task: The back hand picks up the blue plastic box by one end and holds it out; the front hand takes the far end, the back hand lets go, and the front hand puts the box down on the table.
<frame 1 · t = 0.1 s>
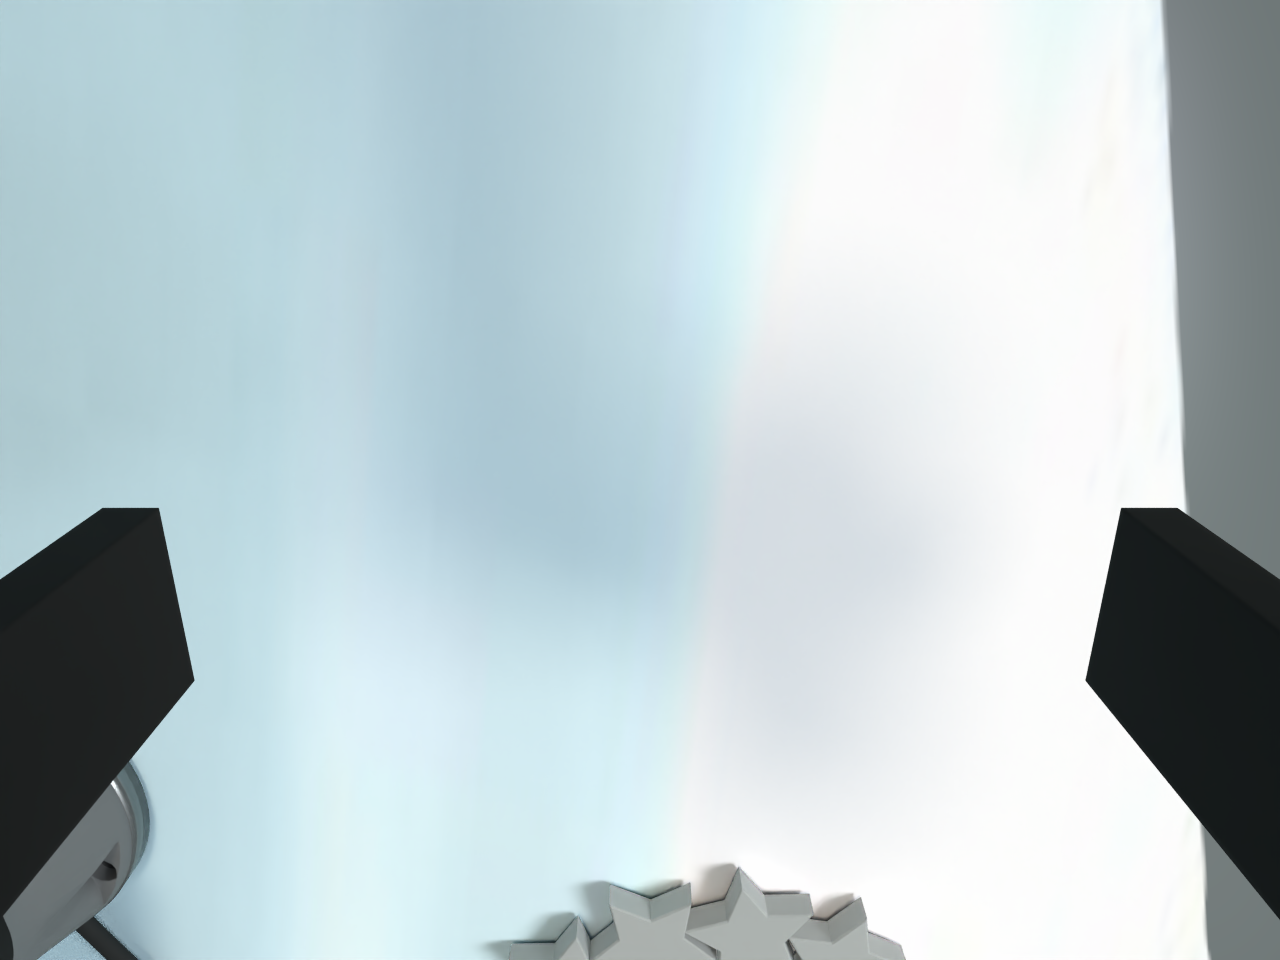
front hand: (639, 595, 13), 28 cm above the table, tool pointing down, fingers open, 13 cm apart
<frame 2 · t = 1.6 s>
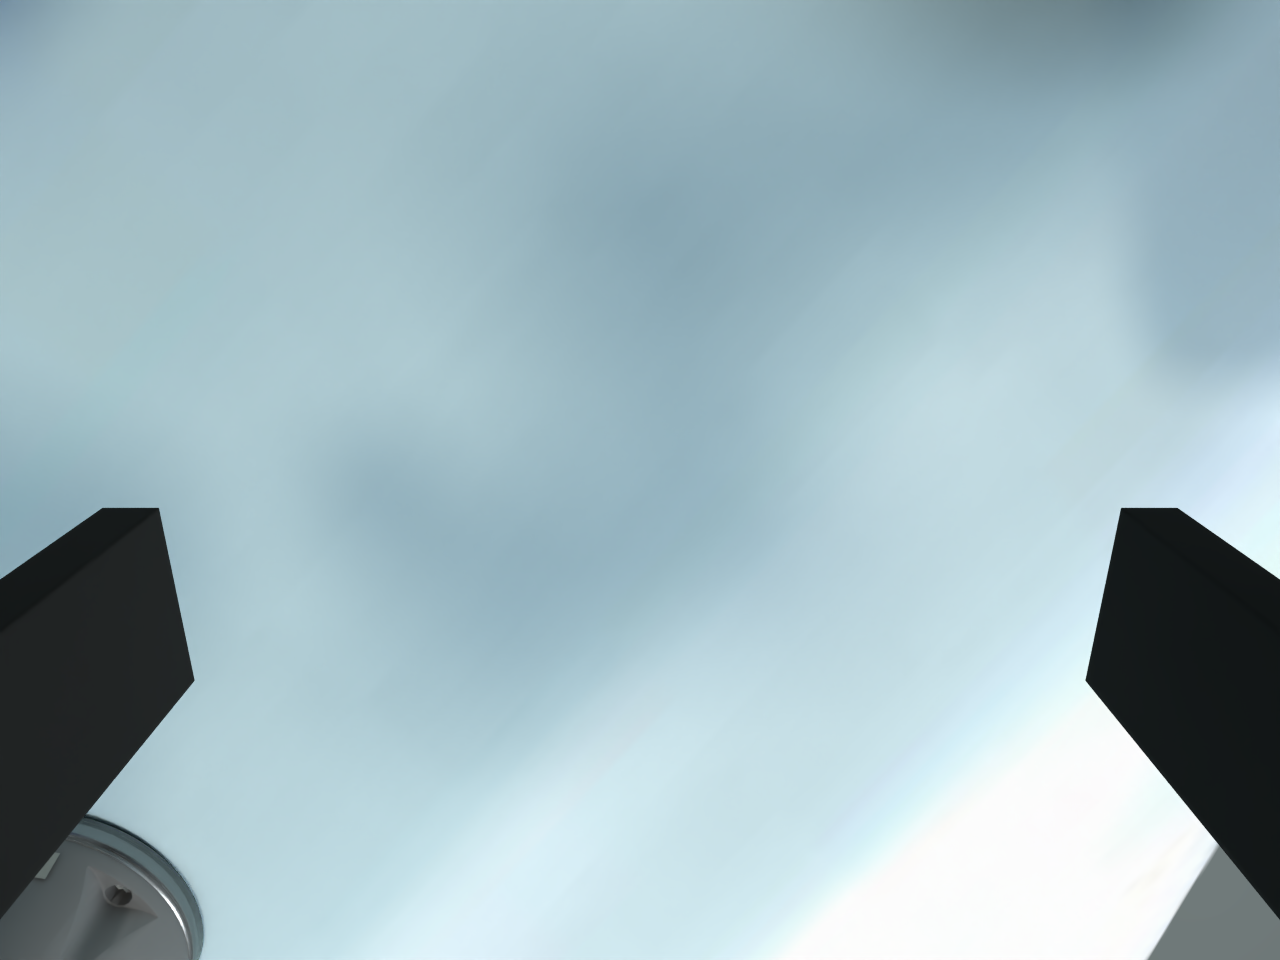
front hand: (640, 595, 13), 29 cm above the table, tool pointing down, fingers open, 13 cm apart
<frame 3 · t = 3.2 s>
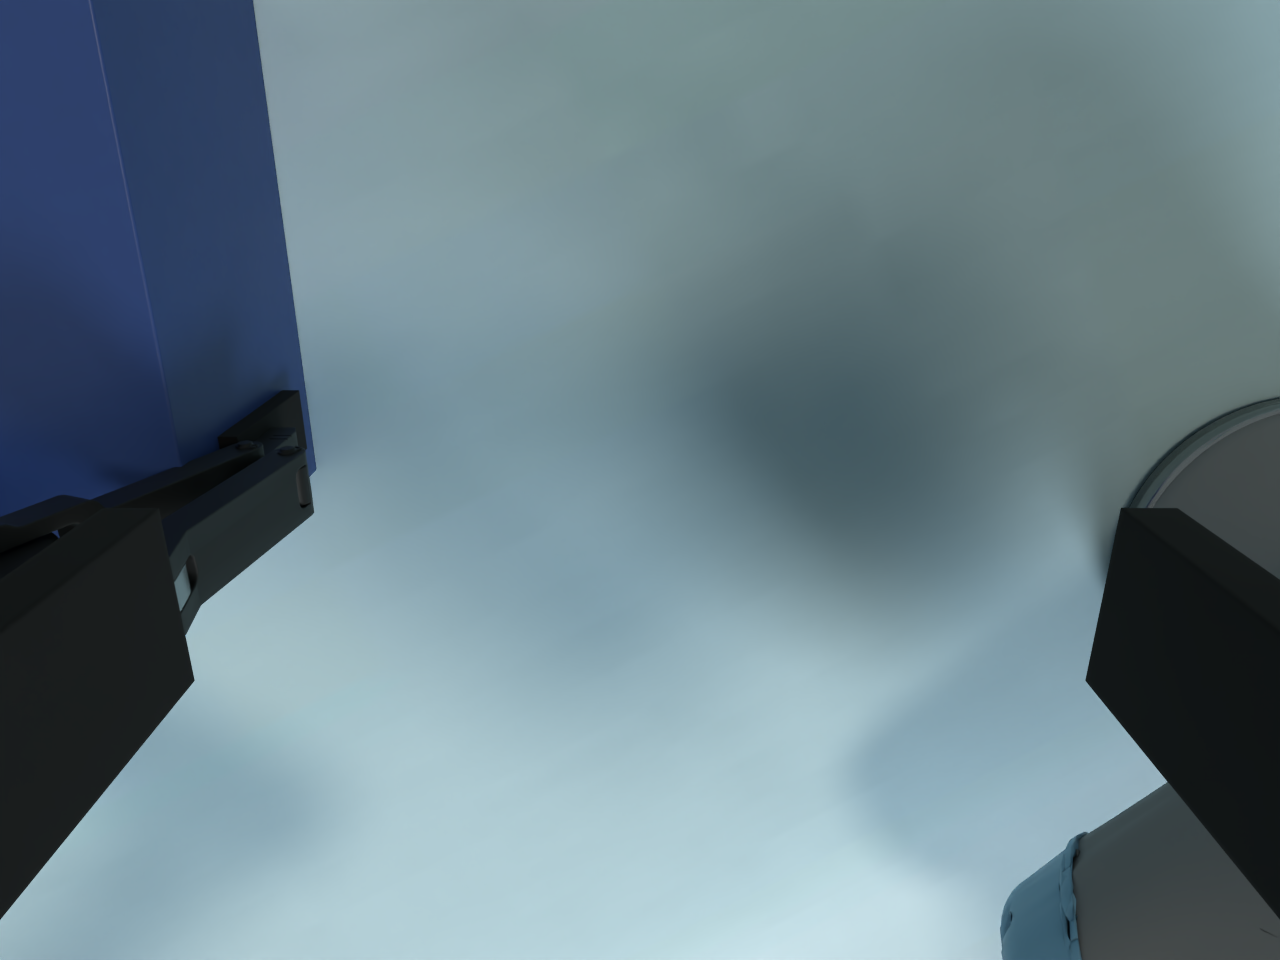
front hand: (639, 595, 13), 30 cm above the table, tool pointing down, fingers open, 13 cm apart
box: (203, 250, 40), on the table, touching back hand
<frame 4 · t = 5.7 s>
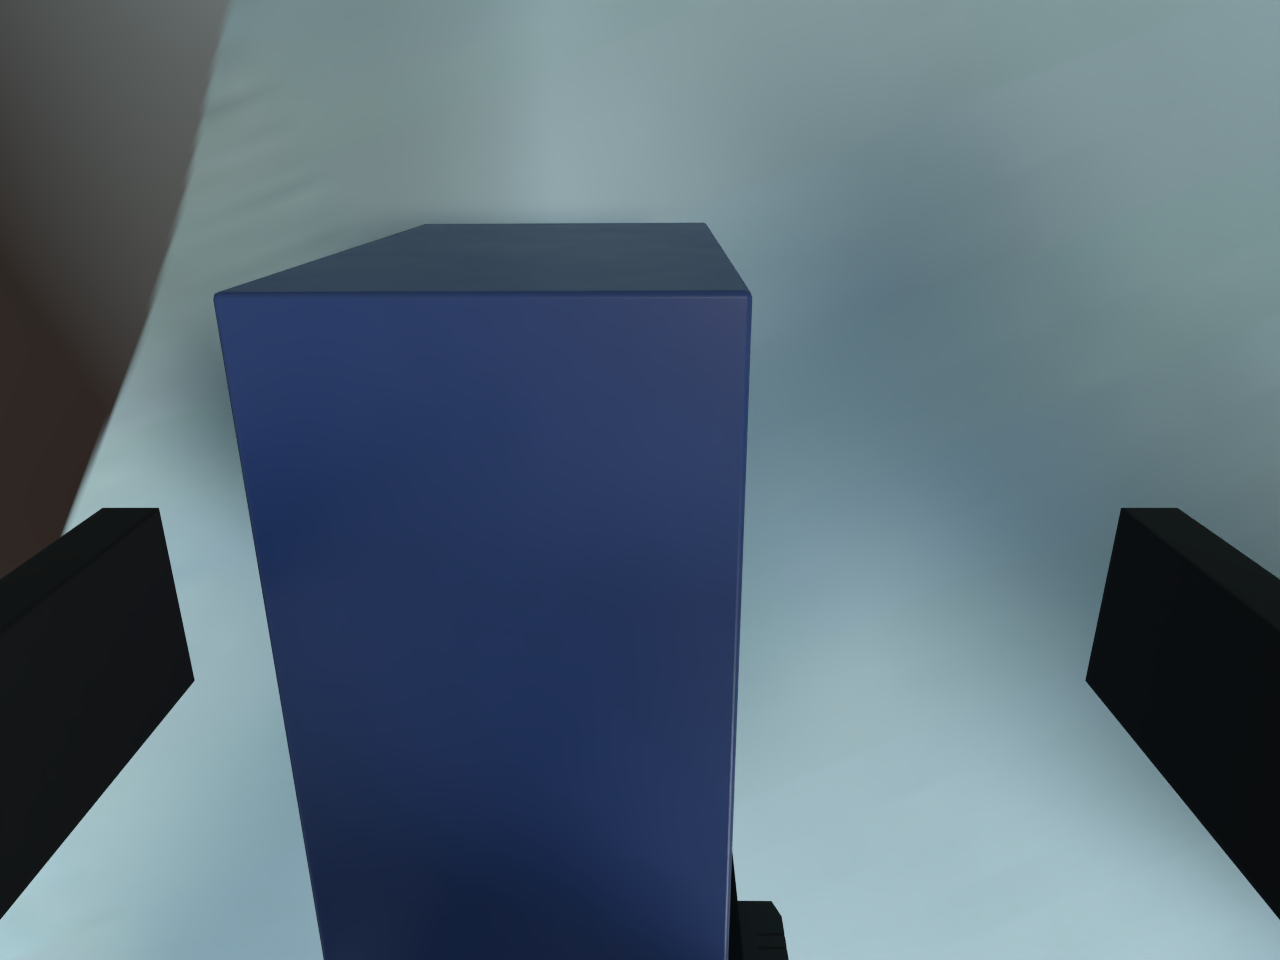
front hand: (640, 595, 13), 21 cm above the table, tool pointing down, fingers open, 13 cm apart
box: (576, 579, 27), point 8 cm above the table, touching back hand
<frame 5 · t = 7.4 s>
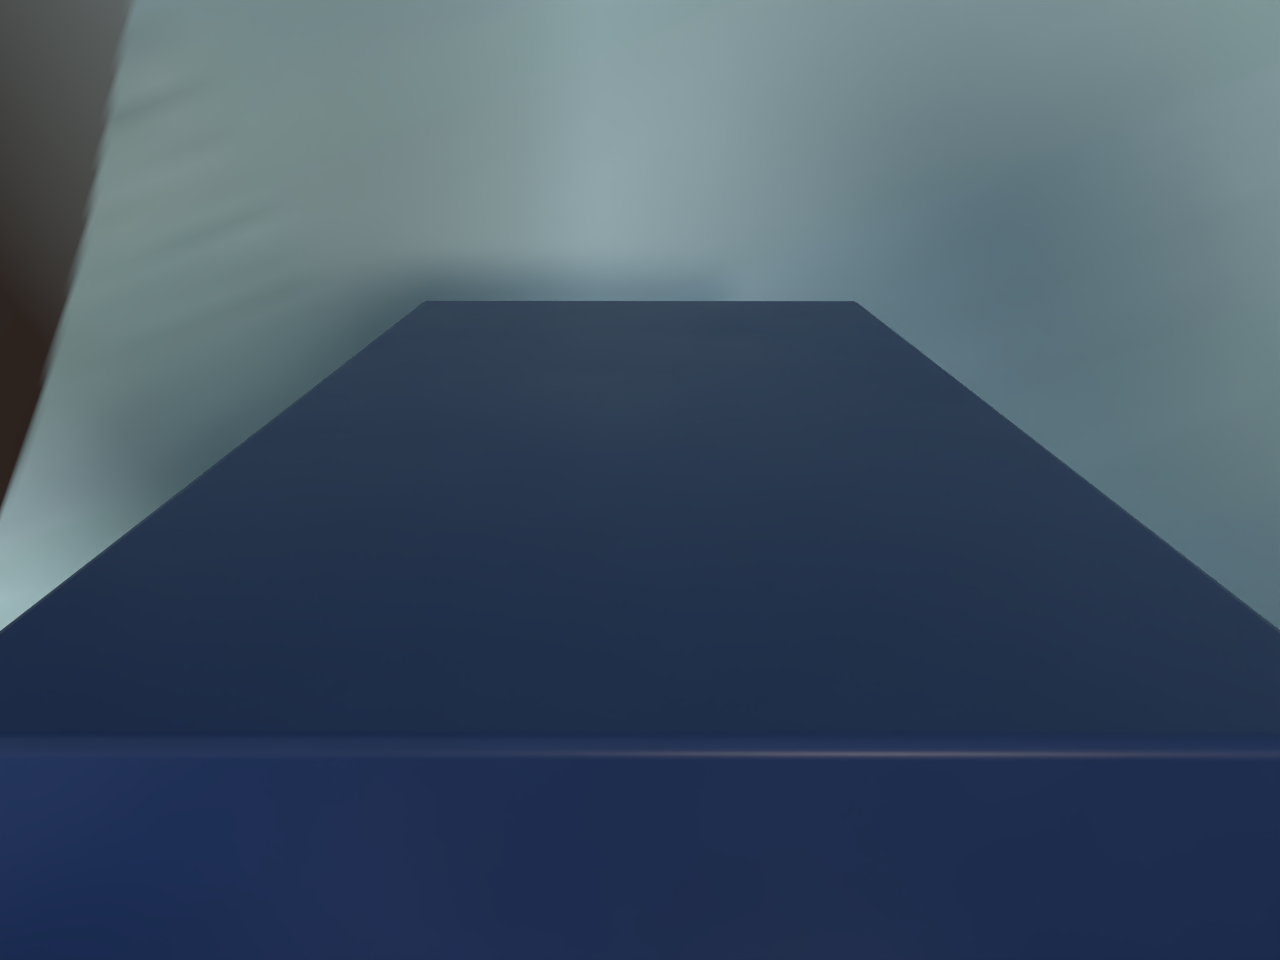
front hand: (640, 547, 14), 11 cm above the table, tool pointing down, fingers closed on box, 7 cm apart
box: (639, 791, 19), point 8 cm above the table, touching front hand, back hand
when the back hand's fingers open (10 cm above the table, at t = 8.2 s): box stays where it is, held by the front hand.
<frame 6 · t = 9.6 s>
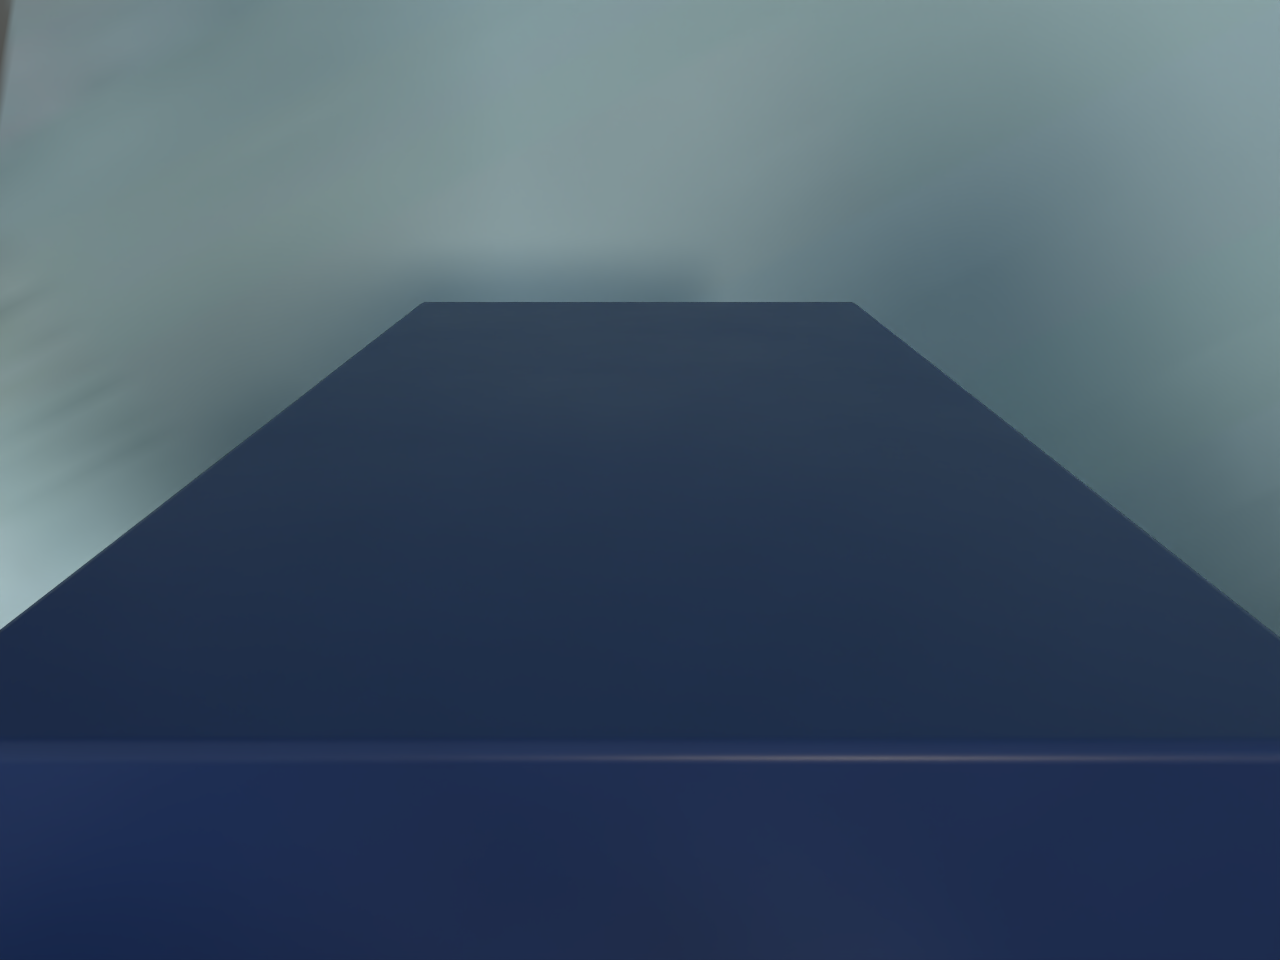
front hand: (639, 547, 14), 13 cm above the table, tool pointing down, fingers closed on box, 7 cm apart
box: (638, 791, 19), point 10 cm above the table, touching front hand
when the front hand's fingers open (4 cm above the table, at t = 11.8 s): box drops 1 cm, on the table.
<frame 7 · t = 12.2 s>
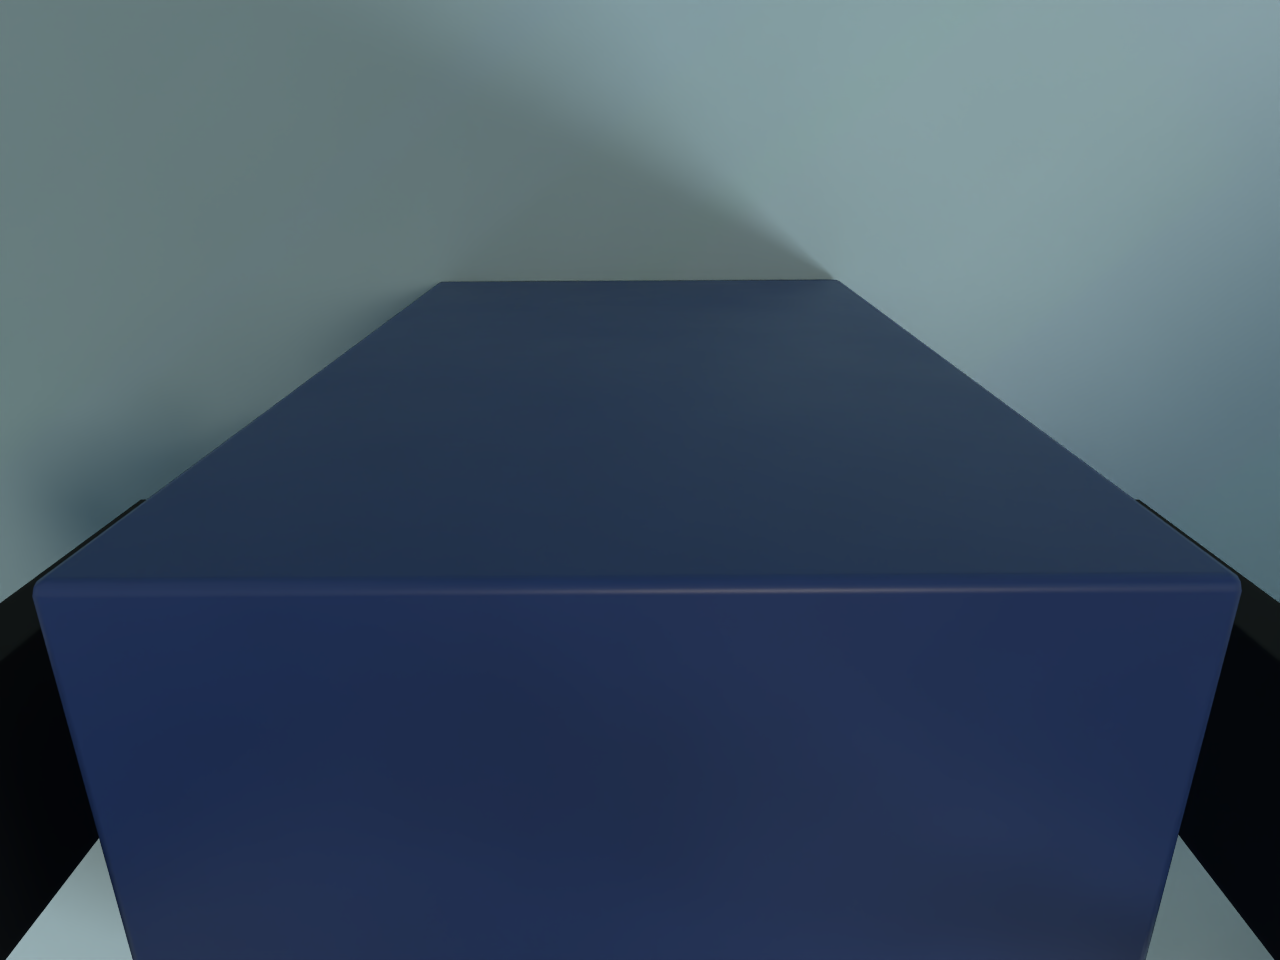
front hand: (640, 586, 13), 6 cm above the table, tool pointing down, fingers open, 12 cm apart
box: (641, 744, 21), on the table
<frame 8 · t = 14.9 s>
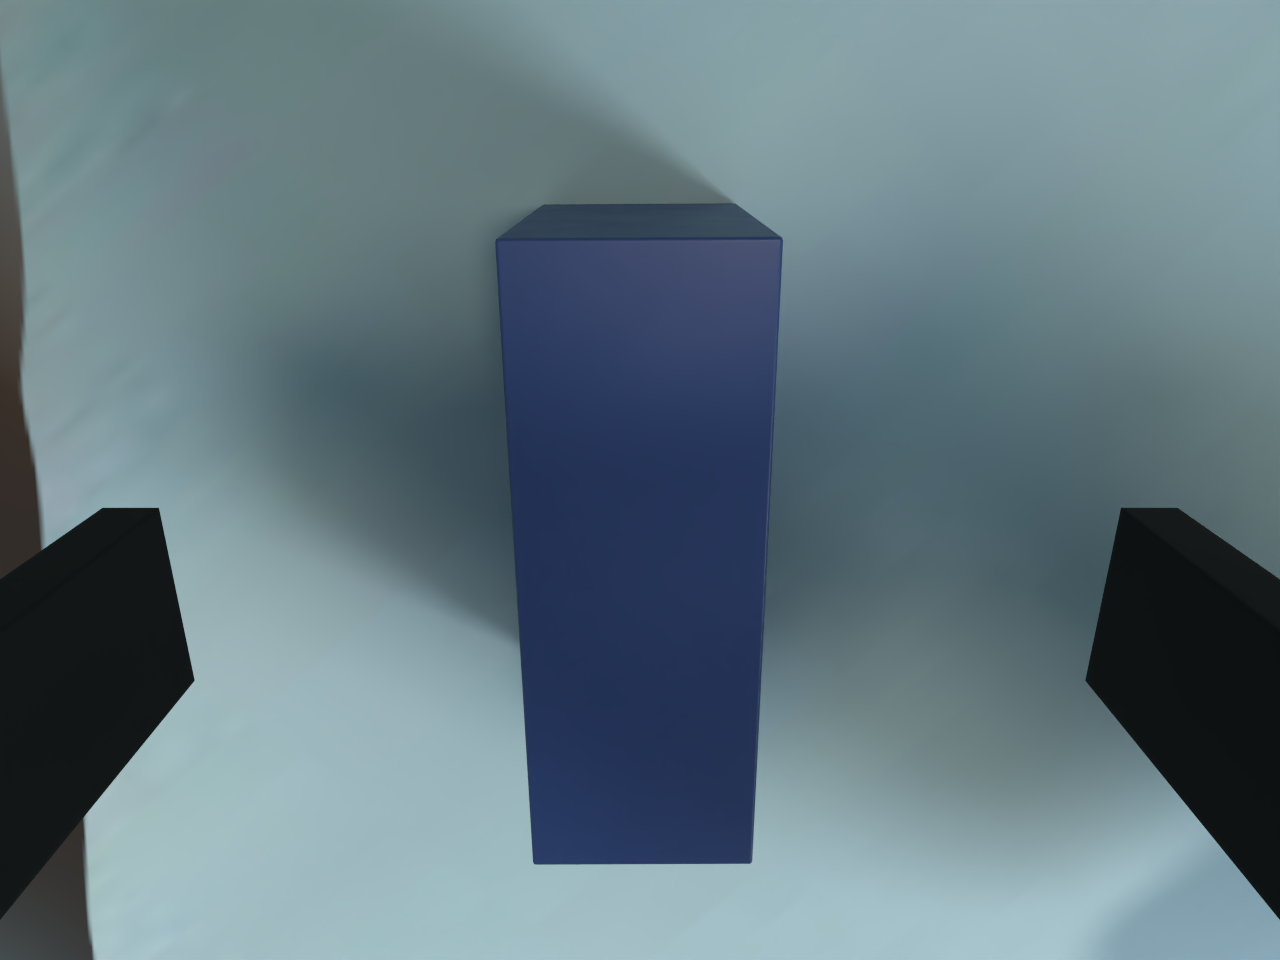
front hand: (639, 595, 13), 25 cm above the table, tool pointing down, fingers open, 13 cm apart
box: (640, 459, 38), on the table
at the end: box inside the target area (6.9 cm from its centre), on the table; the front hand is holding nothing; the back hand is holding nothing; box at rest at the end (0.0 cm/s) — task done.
